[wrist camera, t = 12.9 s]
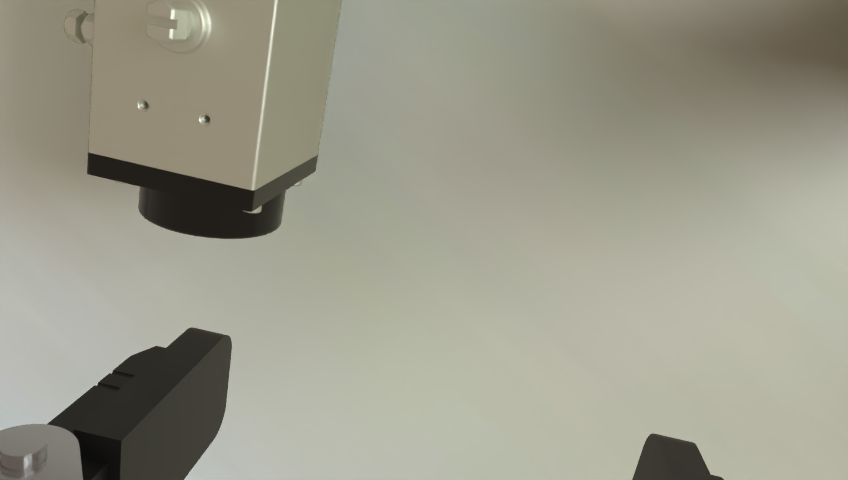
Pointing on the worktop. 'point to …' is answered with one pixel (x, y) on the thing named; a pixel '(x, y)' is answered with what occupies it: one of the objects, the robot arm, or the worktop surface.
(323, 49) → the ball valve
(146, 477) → the robot arm
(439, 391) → the worktop surface
